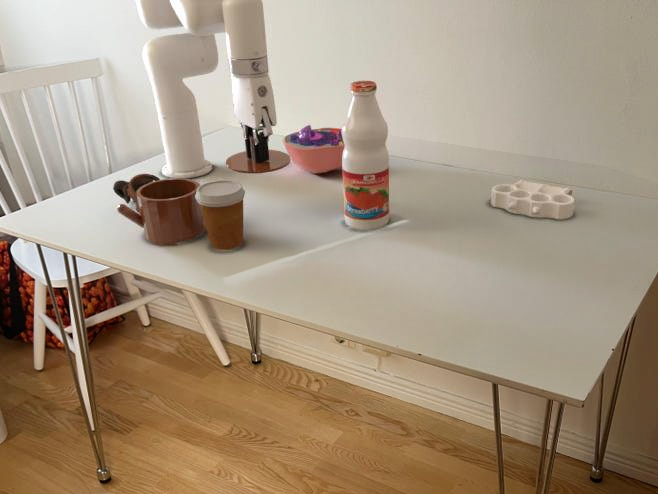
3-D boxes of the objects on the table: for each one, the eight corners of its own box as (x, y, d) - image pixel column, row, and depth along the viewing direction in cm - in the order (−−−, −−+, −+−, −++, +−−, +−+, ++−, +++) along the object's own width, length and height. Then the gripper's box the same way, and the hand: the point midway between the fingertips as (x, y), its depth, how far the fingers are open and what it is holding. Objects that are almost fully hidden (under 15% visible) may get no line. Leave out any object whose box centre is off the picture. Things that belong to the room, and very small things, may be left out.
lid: (215, 163, 149) (211, 134, 146) (270, 150, 155) (268, 122, 152) (245, 181, 140) (241, 151, 136) (302, 166, 146) (300, 137, 143)
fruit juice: (387, 212, 152) (386, 76, 137) (391, 230, 145) (390, 88, 129) (344, 214, 152) (338, 78, 137) (345, 232, 145) (339, 90, 129)
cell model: (365, 181, 169) (364, 133, 163) (282, 183, 170) (277, 136, 163) (365, 158, 183) (363, 114, 177) (288, 160, 184) (284, 116, 177)
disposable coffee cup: (212, 259, 136) (202, 200, 129) (197, 242, 143) (187, 185, 136) (258, 248, 139) (251, 190, 133) (241, 232, 147) (234, 175, 140)
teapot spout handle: (122, 232, 143) (115, 203, 140) (122, 228, 145) (115, 200, 142) (223, 219, 147) (219, 190, 144) (222, 215, 149) (218, 187, 146)
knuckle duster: (585, 202, 153) (562, 226, 143) (508, 188, 162) (480, 210, 152) (588, 187, 151) (564, 210, 142) (509, 174, 160) (482, 195, 150)
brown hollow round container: (136, 231, 149) (127, 187, 144) (191, 216, 155) (184, 173, 149) (159, 251, 140) (150, 205, 135) (217, 234, 146) (210, 190, 141)
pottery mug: (170, 197, 166) (170, 173, 158) (162, 229, 161) (161, 205, 154) (118, 187, 164) (115, 162, 157) (108, 218, 159) (105, 194, 152)
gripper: (286, 70, 133) (293, 165, 143) (246, 56, 144) (255, 145, 154) (251, 76, 129) (261, 174, 140) (212, 61, 140) (224, 152, 151)
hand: (257, 158), depth 147 cm, fingers closed on lid, 2 cm apart
